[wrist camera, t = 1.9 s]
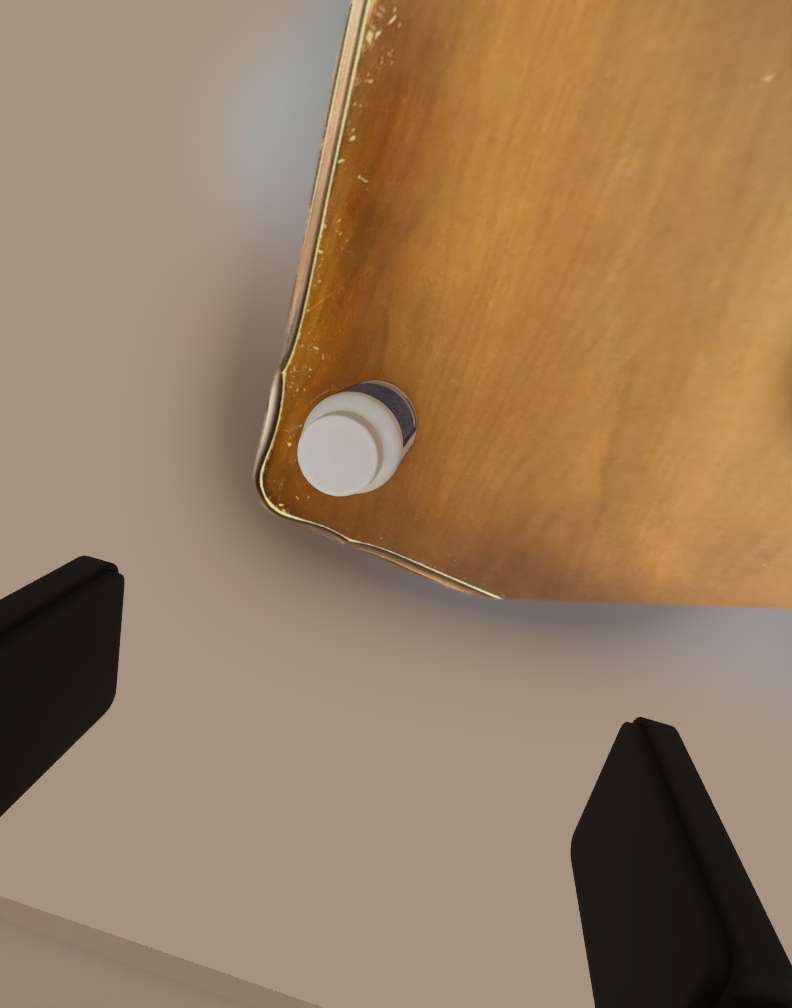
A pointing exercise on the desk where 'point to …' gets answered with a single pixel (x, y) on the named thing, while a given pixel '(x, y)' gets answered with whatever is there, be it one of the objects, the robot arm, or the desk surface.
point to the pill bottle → (357, 438)
